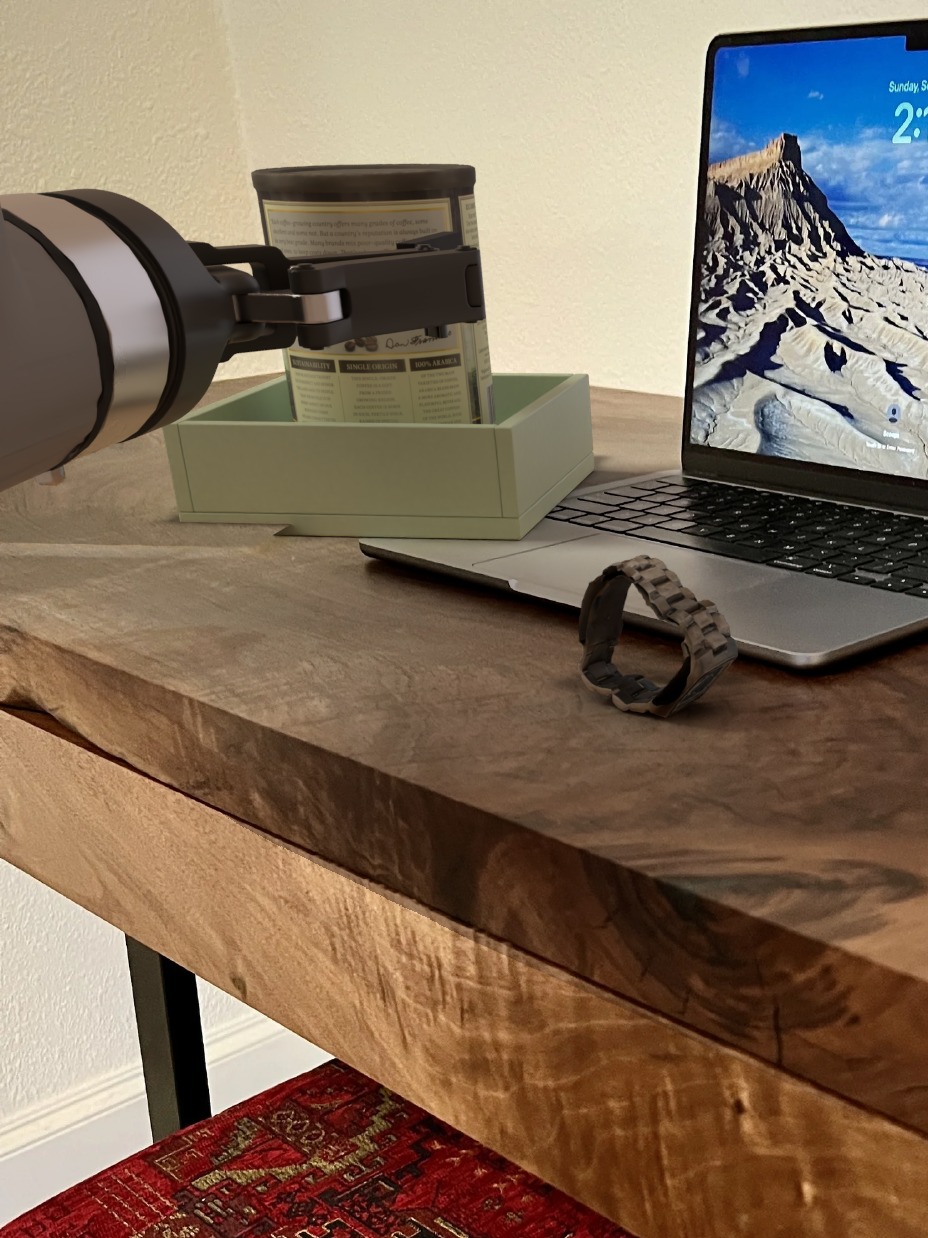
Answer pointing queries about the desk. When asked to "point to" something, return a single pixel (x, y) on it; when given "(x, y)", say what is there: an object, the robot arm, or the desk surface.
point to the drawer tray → (385, 464)
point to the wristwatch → (671, 602)
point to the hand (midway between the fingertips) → (303, 266)
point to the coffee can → (391, 363)
